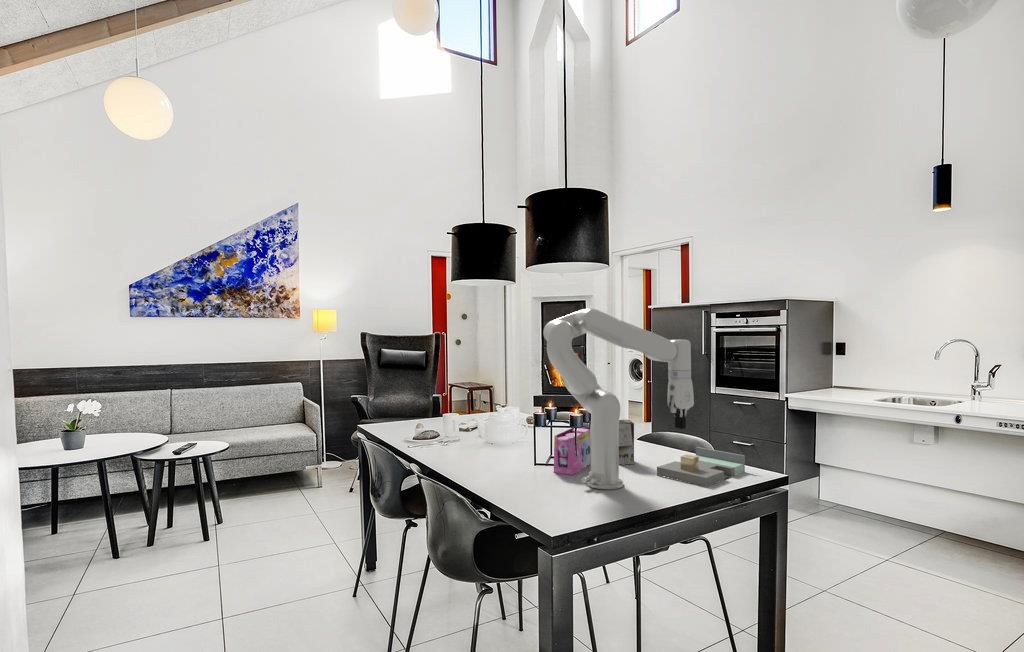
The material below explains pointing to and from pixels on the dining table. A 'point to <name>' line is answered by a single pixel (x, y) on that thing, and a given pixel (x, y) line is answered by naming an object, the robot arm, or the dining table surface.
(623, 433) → the coffee box
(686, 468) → the block
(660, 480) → the dining table surface
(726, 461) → the board
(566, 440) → the gum box
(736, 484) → the dining table surface
